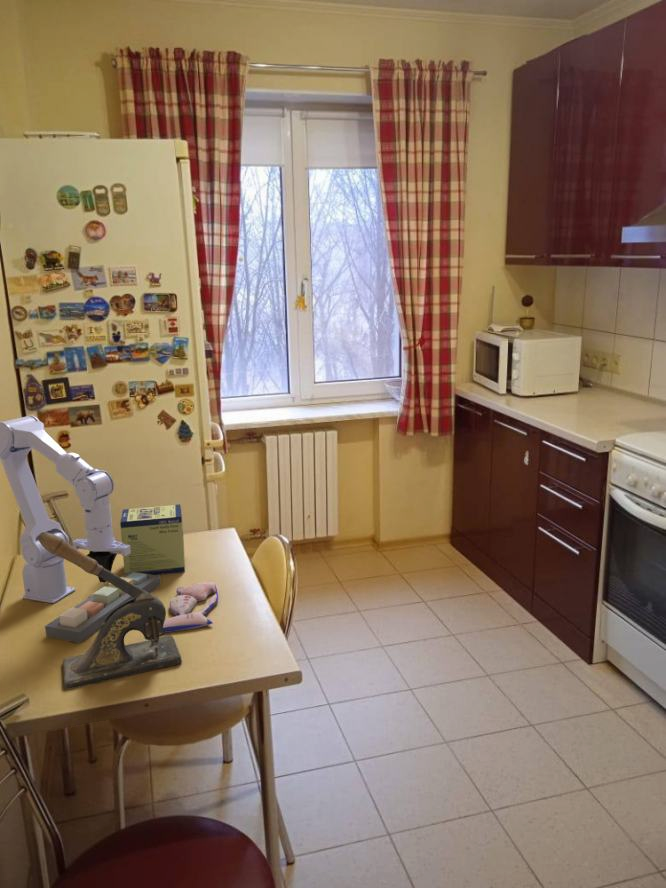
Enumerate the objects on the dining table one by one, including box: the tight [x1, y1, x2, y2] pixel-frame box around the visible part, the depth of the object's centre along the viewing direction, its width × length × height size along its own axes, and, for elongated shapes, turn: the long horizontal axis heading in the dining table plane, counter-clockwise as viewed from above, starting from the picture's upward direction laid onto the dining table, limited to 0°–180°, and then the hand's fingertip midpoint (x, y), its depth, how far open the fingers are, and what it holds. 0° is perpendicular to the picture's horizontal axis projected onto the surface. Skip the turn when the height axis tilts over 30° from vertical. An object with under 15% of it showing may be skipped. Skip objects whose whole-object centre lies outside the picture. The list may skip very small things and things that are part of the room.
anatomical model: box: [163, 581, 219, 633], centre depth 162 cm, size 20×3×15 cm
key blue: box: [125, 572, 147, 585], centre depth 173 cm, size 4×4×3 cm
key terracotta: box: [79, 601, 104, 616], centre depth 158 cm, size 4×4×3 cm
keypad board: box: [44, 571, 161, 644], centre depth 163 cm, size 9×30×2 cm, turn 160°
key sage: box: [92, 586, 119, 605], centre depth 162 cm, size 4×4×3 cm
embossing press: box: [37, 532, 183, 690], centre depth 136 cm, size 11×24×30 cm, turn 109°
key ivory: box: [58, 606, 88, 628], centre depth 152 cm, size 4×4×3 cm
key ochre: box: [108, 576, 133, 595], centre depth 168 cm, size 4×4×3 cm
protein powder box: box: [119, 504, 186, 576], centre depth 184 cm, size 10×16×16 cm
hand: (104, 580), depth 161 cm, fingers closed
